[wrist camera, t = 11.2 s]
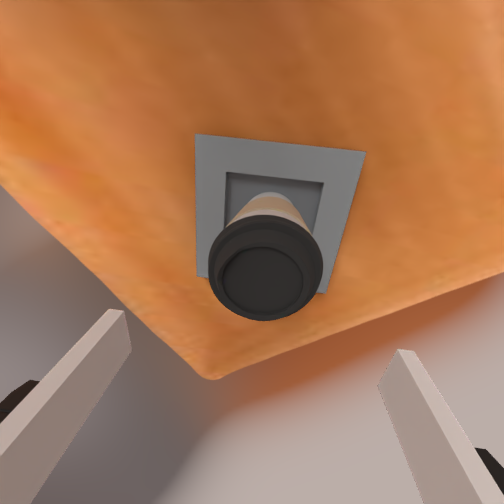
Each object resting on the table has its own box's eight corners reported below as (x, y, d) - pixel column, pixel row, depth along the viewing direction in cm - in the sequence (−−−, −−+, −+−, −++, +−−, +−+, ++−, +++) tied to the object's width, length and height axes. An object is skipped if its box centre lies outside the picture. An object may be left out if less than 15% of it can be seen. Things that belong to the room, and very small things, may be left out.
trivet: (200, 133, 27) (194, 133, 25) (360, 150, 26) (366, 151, 25) (200, 269, 35) (196, 276, 33) (323, 285, 34) (325, 293, 33)
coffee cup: (321, 209, 29) (359, 273, 15) (278, 263, 33) (279, 353, 19) (257, 167, 27) (238, 198, 14) (221, 229, 31) (179, 300, 18)
